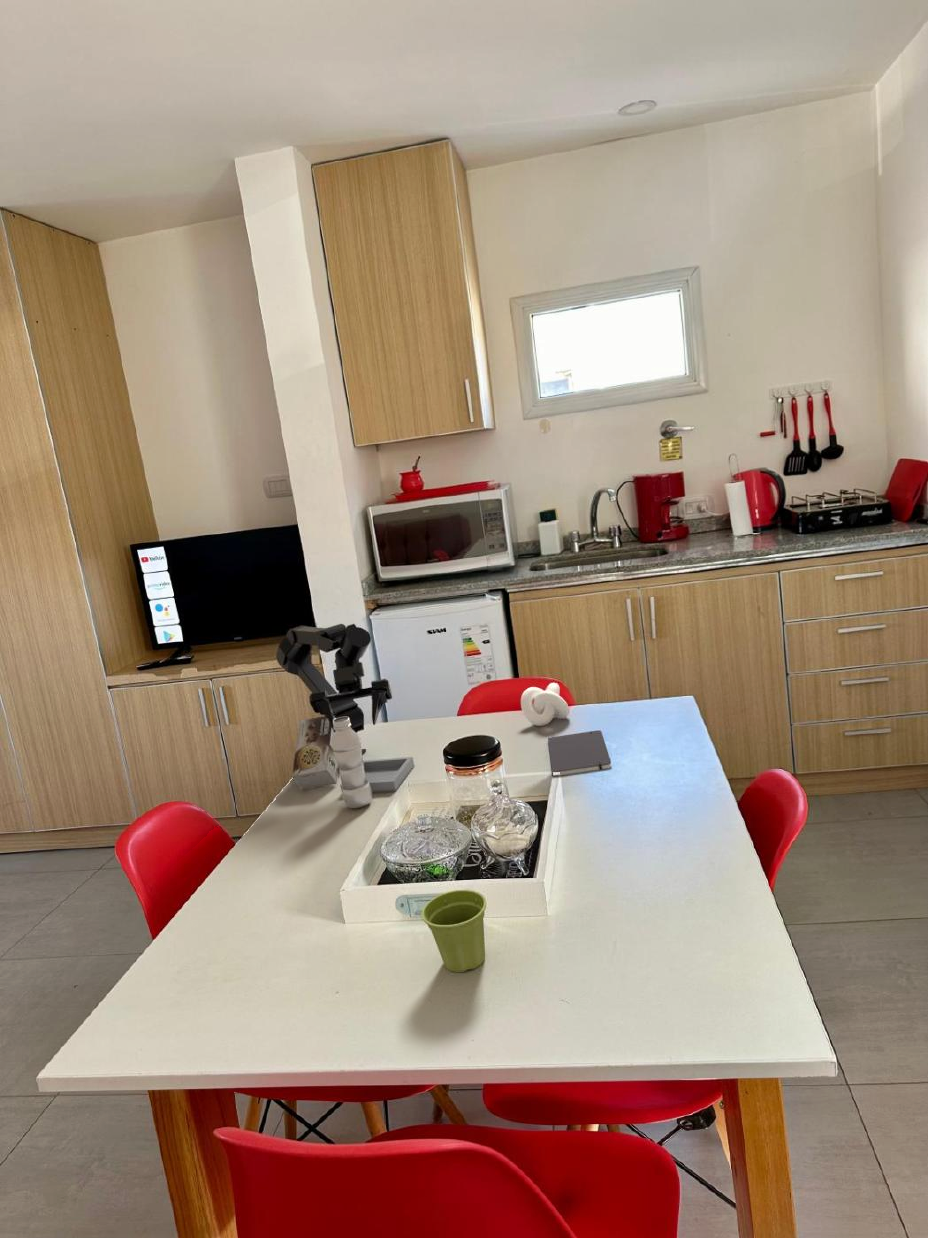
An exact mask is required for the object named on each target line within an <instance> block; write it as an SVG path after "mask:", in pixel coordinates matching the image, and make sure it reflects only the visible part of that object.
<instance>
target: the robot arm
mask: <svg viewBox="0 0 928 1238" xmlns="http://www.w3.org/2000/svg"><path fill="white" fill-rule="evenodd" d="M371 640H372V637H371V633H370V632H369V631H367V630H366V629H365V628H363V627H359V626H356V624H355V623H352V624H348V625H345V624H344V623H339V624H336V625H335V624H334V625H332V626H329V627H316V626H315V627H314V626H307V625H299V626H296V627H294V628H290V629H289V630H287V632H286V636H285V637H284V639H283V640H282V641H281V643H279V645H278V647H277V651H276V656H275V657H276V661H277V664H278V665H279V666H280V667H281V668H283V670H284V671H286V672H287V674H292V675H295V676H297V677H299V679H300V680H301V681H302V683H304V686H306V687H307V689H308V690H309V691H310V692H311V693H310V694H309V698H308V699H309V704H310V706H311V707H312V710H313V712H314V713H316V714H319V715H321V716H326V717H327V719H328V720H329V722H330V724H331V727H332V729H333V731H334V733H335V730H334V728H333V727H334V726H333V720H334V717H335V718H339V717H344V716H347V717H349V719H350V723H351V727H350V728H351V729H352V730H354V731H355V732H356V733H357V734H358V732H360V731H364V730H365V714H364V712H363V709H362V708H361V707H360V706H359V703H357V702H356V701H355V700H356V699H360V698H367V697H371V721H372V725H373V726H375V725H376V723H377V720H378V717H379V715H380V712H381V710H382V707H383V706H384V704H387V703H388V701H390V700H391V699H393V691H392V688H391V685H390V682H389V680H388V679H387V678H382V679H377V680H371V682H370V685H371V687H365V688H363V681H362V678H363V677H365V671H364V666H363V665H364V664H363V662H362V661H360V659H362V657H363V656H364V655H365V652H366V651H367V649H368V647H369V645H370V644H371ZM313 646H317V649H318V650H320V652H321V651H322V652H324V653H330V652H333V651H335V650H336V651H335V654H334V663H335V669H333V670H332V673H333V679H334V680H333V681H334V685H335V688H334V687H333V686H332V685H331V683H330V682H329V681H328V680H327V679H326V677H324V675H323V674H322V673H321V672H320V670H319V669H318V668H317V667H316V666H315V664H314V663H313V662H312V660H313V659H312V650H313ZM335 689H336V690H335ZM337 691H338V692H337ZM366 751H367V749H366V748H361V752H362V756H363V755H364V754H365V753H366Z"/></svg>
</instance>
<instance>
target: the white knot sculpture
mask: <svg viewBox="0 0 928 1238" xmlns="http://www.w3.org/2000/svg"><path fill="white" fill-rule="evenodd" d="M560 690H561V689H560V686H559V684H558V683H557V682H556V683H555V682H550V683H549V684H548V685H547V687H546V689H545V690H543V689H542V688H539V687H536V686H531V687H528V688H527V689H525V690H524V691H523V692H522V694H521V697H520V708H521V710H522V713H523V715H524V717H525V718H526V720H527V721H528V722H529V723H531V724H533V725H534V726H537V727H538V726H539V727H542V726H546V725H548V724H549V723H551V721H552V720H553V719H554V717H555V718H556V719H560V720H564V719H567V717H569V716H570V708H569V705H568V703H567V702H566V700H564V698H563V697H562V696H560Z"/></svg>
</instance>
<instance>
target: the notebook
mask: <svg viewBox="0 0 928 1238" xmlns="http://www.w3.org/2000/svg"><path fill="white" fill-rule="evenodd" d="M547 742H548V749H549V756H550V758H549V759H550V765H551V771H552V772H560V774H561V775H560V776H564V775H571V774H578V773H583V772H585V773H586V772H591V771H596V770H603V769H610V768H611V767H612V764H611V763H612V761H611V757H610V754H609V751H608V748H607V746H606V741H605V739H604V736H603V733H602V730H600V729H599V730H597V729H596V730H589V731H585V732H578V733H572V734H571V733H570V734H565V735H564V734H563V735H558V736H552V737H547ZM552 772H551V773H552Z"/></svg>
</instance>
